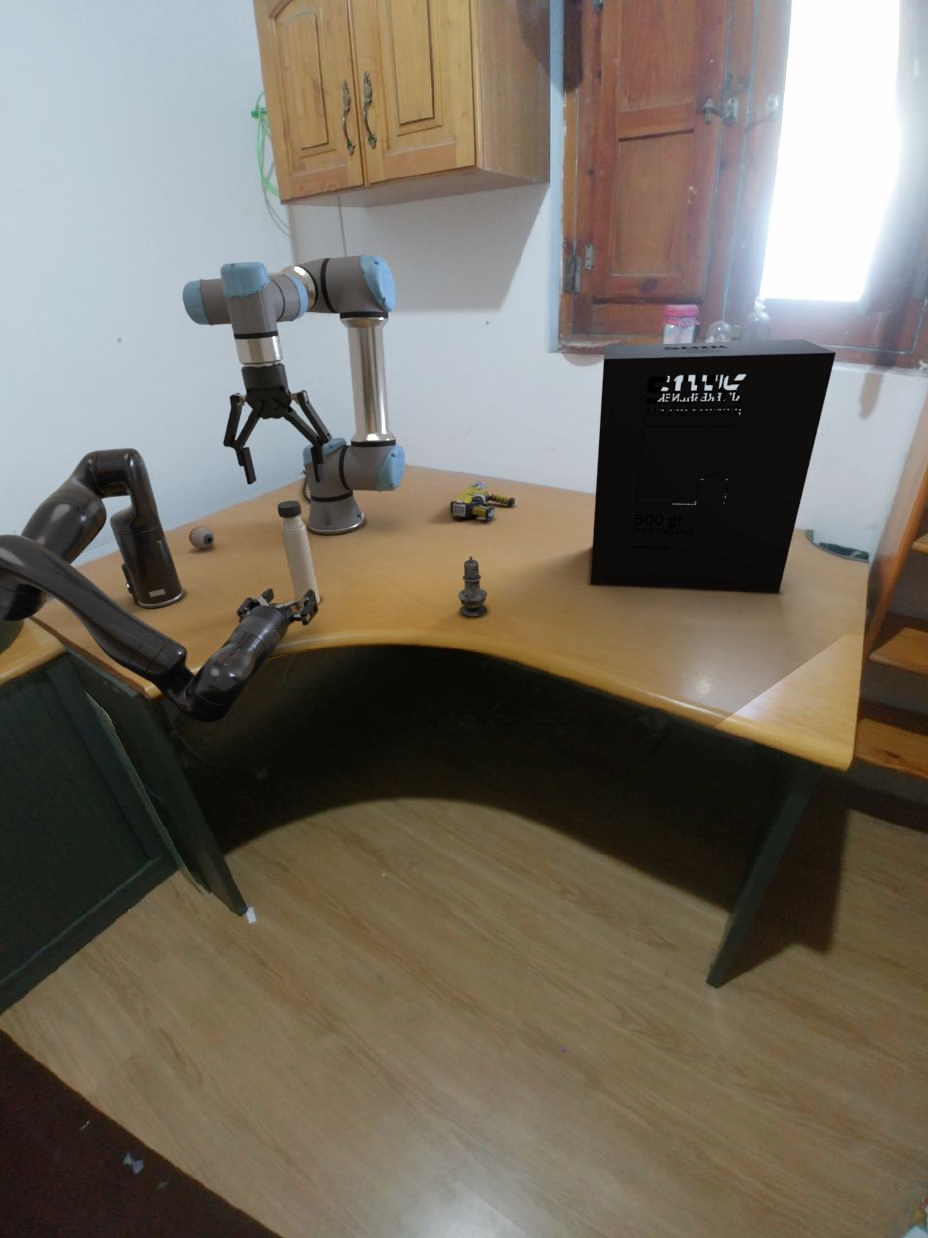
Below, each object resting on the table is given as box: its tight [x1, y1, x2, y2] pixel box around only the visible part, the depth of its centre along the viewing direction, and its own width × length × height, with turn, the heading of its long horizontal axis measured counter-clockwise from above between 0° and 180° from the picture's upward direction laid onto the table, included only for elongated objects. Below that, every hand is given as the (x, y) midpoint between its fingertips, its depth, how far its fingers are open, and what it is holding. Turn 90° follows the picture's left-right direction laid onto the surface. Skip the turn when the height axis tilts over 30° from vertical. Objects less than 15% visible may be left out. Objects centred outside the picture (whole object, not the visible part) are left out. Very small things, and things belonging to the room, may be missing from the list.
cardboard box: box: [590, 338, 837, 594], centre depth 124 cm, size 38×20×45 cm, turn 78°
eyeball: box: [188, 525, 215, 550], centre depth 158 cm, size 6×6×6 cm
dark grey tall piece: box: [457, 555, 488, 617], centre depth 120 cm, size 6×6×12 cm
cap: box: [276, 500, 303, 519], centre depth 120 cm, size 4×4×2 cm
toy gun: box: [449, 480, 516, 522], centre depth 174 cm, size 5×24×15 cm
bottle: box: [280, 515, 321, 608], centre depth 125 cm, size 5×5×22 cm
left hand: (291, 592), depth 121 cm, fingers open, 8 cm apart
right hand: (286, 481), depth 117 cm, fingers open, 13 cm apart
